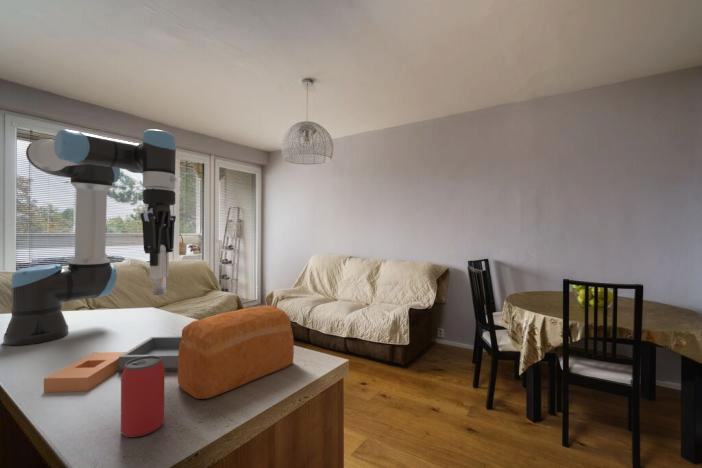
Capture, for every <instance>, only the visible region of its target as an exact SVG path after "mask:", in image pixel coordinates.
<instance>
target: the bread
mask: <svg viewBox="0 0 702 468" xmlns="http://www.w3.org/2000/svg"><path fill="white" fill-rule="evenodd" d="M291 324H292V322H291V318H290V316H289V315H288V314H287V313H286V312H285V311H283V309H280V308H278V306H274V305H260V306H255V307H246V308H241V309H236V310H231V311H226V312H221V313H219V314H218V313H217V314H214V315H210V316H206V317H204V318H201V319H197V320H193V321H191V322H189V323H188V324H186V325H185V326H184V327H183V328H182V330H181V336H182V339H181V343H180V345H179V355H178V371H177V383H178V384H179V385H178V386H179V387H180V388H181V390H183V392H186V393H187V394H189V395H190V396H192V397H193V398H195V399H198V400H202V399H210V398H213V397H216V396H218V395H221V394H224V393H226V392H229V391H231V390H233V389H235V388H238V387H240V386H244V385H245V384H248V383H250V382H253V381H255V380H258V379H260V378H262V377H265V376H267V375H270V374H272V373H274V372H277V371H280V370H282V369H284V368H287V367H289V366H290V365H292V364H293V363H294V352H295V350H294V349H295V347H294V344H295V343H294V334H293V328H292V327H291Z"/></svg>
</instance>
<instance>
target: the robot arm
mask: <svg viewBox="0 0 702 468" xmlns="http://www.w3.org/2000/svg"><path fill="white" fill-rule="evenodd" d="M141 141H142V142H141V143H134V142H129V141H125V140H120V139H114V138H109V137H104V136H100V135H96V134H91V133H86V132H82V131H80V130H69V129H66V128H65V129H60V130H58V131H57V134H56V135H55V137H54V139H50V138H41V139H37V140H34V141H32V142H30V144H28V146H27V147H26V149H25V156H26V159H27V160H28V162H29V163H30V164H31V166H33V167H34V168H35V169H38V170H39V171H41V172H43V173H46V174H49V175H51V176H56V177H63V178H68V179H69V178H70V184H71V186H73V187H74V188H75V190H76V191H75V221H74V222H75V226H74V227H75V228H74V229H75V230H74V233H75V234H74V257H73V258H71V259H70V260H69V261H68V267H63V266H62V265H61V264H59V263H52V264H43V265H36V266H30V267H25V268H20V269H18V270H16V271H14V272H13V274H12V275H11V284H10V287H11V316H10V317H11V318H10V321H9V322H8V324H7V325H8V326H7V327H6V331H5V333H4V334H3V345H6V346H25V345H27V346H28V345H34V344H39V343H44V342H49V341H53V340H57V339H60V338H62V337H64V336H66V335H68V334H69V325H68V324H67V321H66V319H65V316H64V314H63V312H62V303H66V302H75V301H81V300H89V299H98V298H102V297H106V296H109V295H110V294H111V293H112V292H113V291H114V288H115V287H116V284H117V277H118V274H117V268H116V266H115V265H113V264H111V259H109V258H108V257H107V256H106V244H107V243H106V241H107V239H106V237H107V207H108V206H107V205H108V204H107V201H108V199H107V197H108V191H109V190H111V189H112V188H113V184H114V183H115V184H116V183H117V182H118V181H119V179H120V176H121V170H126V171H128V172H130V173H132V174H133V173H134V174H142V187H143V188H144V189H143V190H142V202H143V204H144V205H148V206H147V211H146V212H141V213H140V219H141V222H142V240H143V241H142V242H143V251H144V254H149V279H153V278H162V253H160V244H163V245H164V246H165V247H166V277H169V276H170V275H169V274H170V270H169V269H170V268H169V267H170V263H169V262H170V258H169V256H170V253H173V251H174V245H175V244H174V242H175V241H174V239H175V222H176V217H177V216H176V215H175V214H174V215H173V214H171V213H172V211H171V206H174V205H176V192H175V189H176V182H177V178H176V153H177V151H176V150H177V148H176V137H175V135H173V134H172V133H170V132H168V131H166V130H160V129H146V130H144V131H143V133H142V138H141Z"/></svg>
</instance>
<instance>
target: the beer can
mask: <svg viewBox="0 0 702 468" xmlns="http://www.w3.org/2000/svg"><path fill="white" fill-rule="evenodd" d="M164 422H165V372H164V366H163V364H162V362H161V358H160V357H159V356H144V357H139V358H135V359H132V360H130V361H128V362H127V363H126V364H125V368H124V371H123V373H121V378H120V432H121V434H122V435H123V436H124V437H126V438H140V437H144V436H147V435H150V434H151V433H154V432H155V431H157V430H159V428H160V427H161V426H162V425H163V424H164Z"/></svg>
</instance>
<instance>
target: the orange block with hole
mask: <svg viewBox="0 0 702 468" xmlns="http://www.w3.org/2000/svg"><path fill="white" fill-rule="evenodd" d="M126 352H127V351H110V352H109V351H107V352H106V351H105V352H104V351H103V352H101V351H99V352H91V353H90V354H88V355H86V356H84V357H82V358H80V359H79V360H77V361H74V362H73V363H71V364H69V365H67V366H65V367H63V368H62V369H61V368H60V369H59V370H58V371H55V372H54V373H51V374H50V375H48V376H46V377H44V378H43V393H64V392H66V393H67V392H89V391H90V390H91V389H93V388H95V387H96V386H97V385H98V384H100V383H102V382H104V381H105V380H106V379H108V378H109V377H111V376H112V375H114V374H115V373H117V372H119V356H121V355H123V354H124V353H126Z"/></svg>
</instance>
